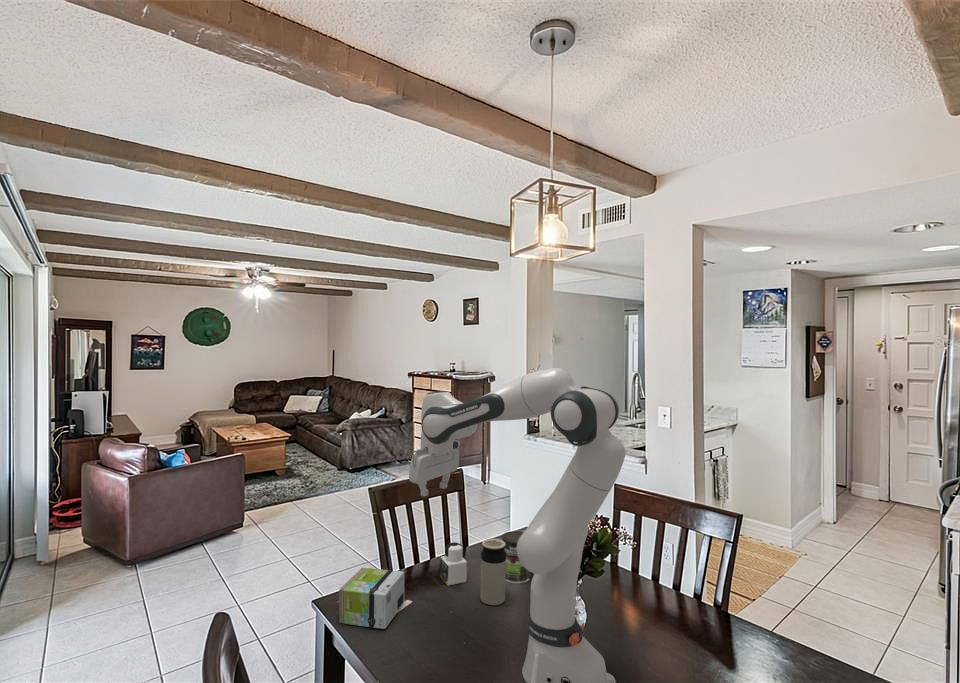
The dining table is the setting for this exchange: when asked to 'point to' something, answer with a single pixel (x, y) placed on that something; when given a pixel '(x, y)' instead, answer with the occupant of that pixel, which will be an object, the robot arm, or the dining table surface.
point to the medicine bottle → (453, 565)
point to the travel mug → (493, 572)
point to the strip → (404, 605)
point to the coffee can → (514, 559)
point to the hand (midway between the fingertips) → (434, 491)
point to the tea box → (371, 598)
